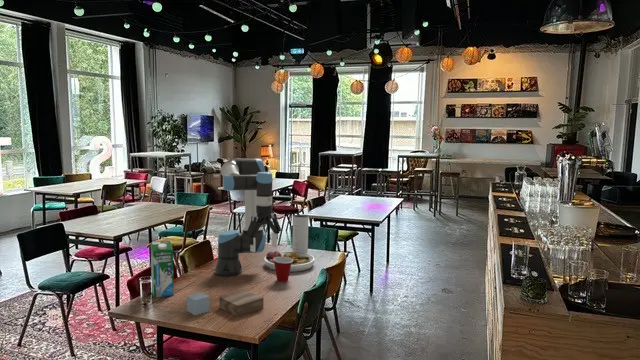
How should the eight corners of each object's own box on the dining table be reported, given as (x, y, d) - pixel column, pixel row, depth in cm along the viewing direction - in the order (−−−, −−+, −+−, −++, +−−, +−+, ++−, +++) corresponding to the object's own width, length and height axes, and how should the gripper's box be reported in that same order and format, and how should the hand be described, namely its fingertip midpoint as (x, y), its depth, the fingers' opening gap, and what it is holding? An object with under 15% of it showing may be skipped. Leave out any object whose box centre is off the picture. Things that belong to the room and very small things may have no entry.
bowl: (319, 261, 278) (319, 249, 277) (307, 276, 249) (307, 262, 248) (273, 257, 284) (273, 245, 284) (256, 271, 255) (256, 258, 255)
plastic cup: (290, 284, 233) (290, 262, 231) (270, 282, 235) (270, 260, 234) (295, 278, 243) (295, 256, 242) (276, 276, 245) (276, 255, 244)
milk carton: (153, 298, 210) (153, 246, 207) (151, 291, 218) (150, 242, 215) (173, 295, 214) (173, 244, 212) (170, 289, 222) (170, 240, 220)
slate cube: (186, 311, 195) (186, 295, 195) (200, 307, 200) (200, 292, 200) (195, 316, 190) (195, 300, 190) (209, 311, 196) (209, 296, 195)
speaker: (311, 254, 293) (311, 215, 291) (299, 257, 286) (300, 217, 283) (300, 251, 301) (300, 213, 298) (288, 253, 293) (289, 214, 291)
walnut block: (219, 307, 200) (219, 297, 199) (244, 299, 210) (244, 289, 209) (237, 316, 190) (237, 305, 190) (263, 308, 200) (263, 297, 200)
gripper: (248, 208, 197) (248, 255, 199) (288, 203, 216) (288, 245, 218) (238, 206, 202) (238, 252, 204) (278, 201, 221) (277, 243, 223)
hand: (263, 249), depth 211 cm, fingers open, 13 cm apart
